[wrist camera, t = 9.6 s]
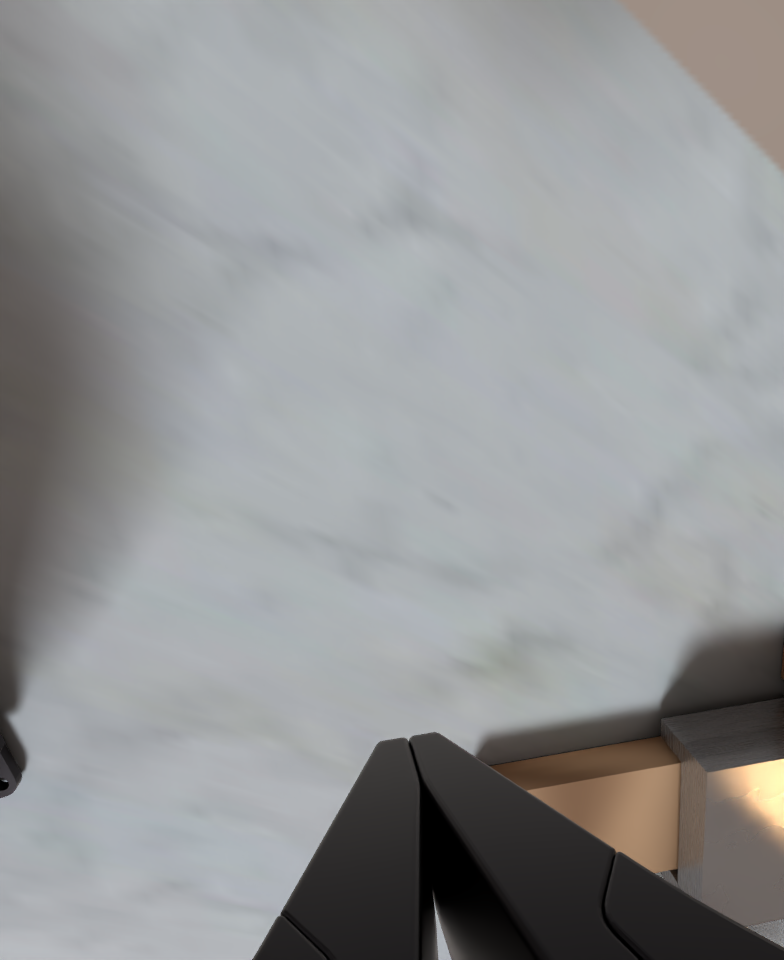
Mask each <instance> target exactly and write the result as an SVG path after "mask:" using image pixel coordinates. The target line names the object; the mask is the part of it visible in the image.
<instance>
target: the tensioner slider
mask: <svg viewBox="0 0 784 960" xmlns="http://www.w3.org/2000/svg"><path fill="white" fill-rule="evenodd" d="M661 737H662V739H663V740H664V741H665V742H666V744H667V745H668V746H669V747H670V748H671V750H672V751H673V752H674V753H675V755H676V756H677V757H678V758H679V759H680V761H681V787H680V820H679V853H678V869H673V870H668V871H663V872H661V874H662V875H663V877H664V879H665V880H666V881H668V882H669V883H671V884H672V885H674V886H676V887H677V888H679V889H681V890H682V891H684V892H685V893H687V894H689V895H690V896H692V897H693V898H695V899H697V900H699V901H700V902H702V903H704V904H706V905H708V906H709V907H711V908H713V909H715V910H716V911H718V912H720V913H722V914H724V915H725V916H727V917H729V918H731V919H732V920H734V921H736V922H738V923H740V924H741V925H743V926H745V927H746V926H750V925H755V924H760V923H765V922H770V921H775V920H780V919H784V698H779V699H773V700H768V701H762V702H756V703H750V704H744V705H739V706H733V707H727V708H721V709H715V710H710V711H704V712H698V713H692V714H686V715H680V716H675V717H669V718H663V719H661Z"/></svg>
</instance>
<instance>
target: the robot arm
mask: <svg viewBox="0 0 784 960" xmlns="http://www.w3.org/2000/svg"><path fill="white" fill-rule="evenodd" d="M0 778H3V779H6V780H7V781H8V782H4V781H2V780H0V798H2V797H5V796H8V795H10V794H12V793H13V792H14V791H15V789H16V788H17V786H18V785H19V783H20V782H21V779H22V774H21V771H20V769H19V767H18V765H17V764H16V762H15V760H14V758H13V757H12V755H11V753H10V751H9V749H8V748H7V746H6V744H5V741H4V739H3V737H2V735H1V734H0ZM433 897H434V899H433ZM434 901H435V906H436V910H437V914H438V917H439V921H440V924H441V928H442V931H443V934H444V937H445V940H446V943H447V946H448V950H449V953H450V956H451V959H452V960H784V947H782V946H780V945H778V944H776V943H774V942H772V941H770V940H769V939H767V938H765V937H763V936H761V935H759V934H757V933H756V932H754V931H752V930H750V929H748V928H747V927H745V926H743V925H741V924H740V923H738V922H736V921H734V920H732V919H731V918H729V917H727V916H725V915H724V914H722V913H720V912H718V911H716V910H715V909H713V908H711V907H709V906H708V905H706V904H704V903H702V902H700V901H699V900H697V899H695V898H693V897H692V896H690V895H689V894H687V893H685V892H684V891H682V890H681V889H679V888H677V887H676V886H674V885H672V884H671V883H669V882H668V881H666V880H664V879H663V878H661V877H660V876H658V875H656V874H655V873H653V872H652V871H650V870H648V869H647V868H645V867H644V866H642V865H641V864H639V863H638V862H636V861H635V860H633V859H631V858H630V857H628V856H627V855H625V854H624V853H622V852H617V853H616V850H615V849H614V848H613V847H611V846H610V845H608V844H607V843H605V842H604V841H602V840H601V839H599V838H597V837H596V836H594V835H593V834H591V833H590V832H588V831H587V830H585V829H584V828H582V827H581V826H579V825H578V824H576V823H575V822H573V821H572V820H570V819H569V818H567V817H566V816H564V815H563V814H561V813H559V812H558V811H556V810H555V809H553V808H552V807H550V806H549V805H547V804H546V803H544V802H543V801H541V800H540V799H538V798H537V797H535V796H534V795H532V794H531V793H529V792H528V791H526V790H525V789H523V788H522V787H520V786H518V785H517V784H515V783H514V782H512V781H511V780H509V779H508V778H506V777H505V776H503V775H502V774H500V773H499V772H497V771H496V770H494V769H493V768H491V767H490V766H488V765H487V764H485V763H484V762H482V761H480V760H479V759H477V758H476V757H474V756H473V755H471V754H470V753H468V752H467V751H465V750H464V749H462V748H461V747H459V746H458V745H456V744H455V743H453V742H452V741H450V740H449V739H447V738H446V737H444V736H443V735H441V734H439V733H436V732H433V733H427V734H421V735H415V736H412V737H411V738H410V739H409V742H408V740H407V739H406V738H397V739H391V740H385V741H380V742H379V743H378V744H377V745H376V747H375V749H374V750H373V752H372V754H371V756H370V757H369V759H368V761H367V763H366V764H365V766H364V768H363V770H362V772H361V773H360V775H359V777H358V779H357V780H356V782H355V784H354V786H353V787H352V789H351V791H350V793H349V794H348V796H347V798H346V800H345V801H344V803H343V805H342V807H341V808H340V810H339V812H338V814H337V815H336V817H335V819H334V821H333V822H332V824H331V826H330V828H329V829H328V831H327V833H326V835H325V836H324V838H323V840H322V842H321V843H320V845H319V847H318V849H317V850H316V852H315V854H314V856H313V857H312V859H311V861H310V863H309V864H308V866H307V868H306V870H305V871H304V873H303V875H302V877H301V878H300V880H299V882H298V884H297V885H296V887H295V889H294V891H293V892H292V894H291V896H290V898H289V899H288V901H287V903H286V905H285V906H284V908H283V910H282V912H281V916H278V917H277V918H276V920H275V922H274V924H273V925H272V927H271V929H270V931H269V932H268V934H267V936H266V938H265V939H264V941H263V943H262V945H261V946H260V948H259V950H258V951H257V953H256V954H255V956H254V958H253V959H252V960H438V946H437V930H436V919H435V908H434Z"/></svg>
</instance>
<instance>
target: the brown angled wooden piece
mask: <svg viewBox="0 0 784 960" xmlns="http://www.w3.org/2000/svg"><path fill="white" fill-rule="evenodd" d="M781 678H782V679H783V680H784V647H783V659H782V672H781ZM490 767H491V768H493V769H494V770H496V771H497V772H499V773H500V774H502V775H503V776H505V777H506V778H508V779H509V780H511V781H512V782H514V783H515V784H517V785H518V786H520V787H522V788H523V789H525V790H526V791H528V792H529V793H531V794H532V795H534V796H535V797H537V798H538V799H540V800H541V801H543V802H544V803H546V804H547V805H549V806H550V807H552V808H553V809H555V810H556V811H558V812H559V813H561V814H563V815H564V816H566V817H567V818H569V819H570V820H572V821H573V822H575V823H576V824H578V825H579V826H581V827H582V828H584V829H585V830H587V831H588V832H590V833H591V834H593V835H594V836H596V837H597V838H599V839H601V840H602V841H604V842H605V843H607V844H608V845H610V846H611V847H613V848H614V849H615V850H616V853H617V852H622V853H624V854H625V855H627V856H628V857H630V858H631V859H633V860H635V861H636V862H638V863H639V864H641V865H642V866H644V867H645V868H647V869H648V870H650V871H652V872H653V873H658V872H663V871H668V870H673V869H678V853H679V820H680V787H681V761H680V759H679V758H678V757H677V756H676V755H675V753H674V752H673V751H672V750H671V748H670V747H669V746H668V745H667V744H666V742H665V741H664V740H663V739H662V737H661V736H659V737H653V738H648V739H642V740H636V741H631V742H625V743H619V744H613V745H608V746H602V747H596V748H591V749H585V750H579V751H573V752H568V753H562V754H556V755H550V756H545V757H539V758H533V759H528V760H522V761H516V762H510V763H505V764H499V765H493V766H490Z"/></svg>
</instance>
